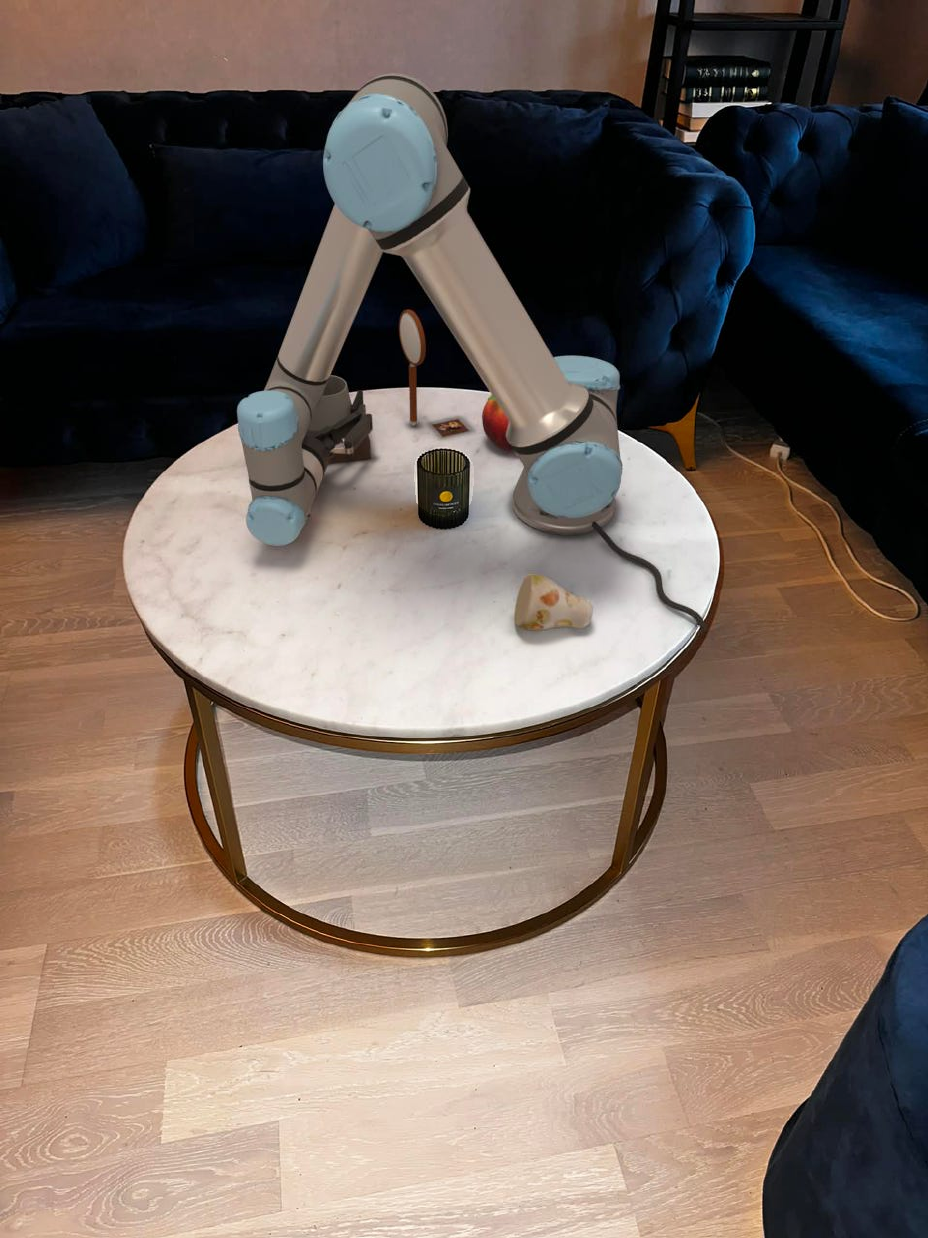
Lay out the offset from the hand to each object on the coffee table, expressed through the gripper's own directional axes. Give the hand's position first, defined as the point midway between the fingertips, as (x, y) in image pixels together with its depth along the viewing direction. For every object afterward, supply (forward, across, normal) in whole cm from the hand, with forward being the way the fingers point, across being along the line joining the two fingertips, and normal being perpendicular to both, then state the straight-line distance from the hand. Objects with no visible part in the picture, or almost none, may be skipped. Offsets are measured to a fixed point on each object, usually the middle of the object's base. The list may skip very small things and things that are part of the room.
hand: (330, 395), depth 154 cm
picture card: (+4, +19, -7) cm, 21 cm away
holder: (-4, 0, -6) cm, 8 cm away
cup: (-4, 0, -6) cm, 8 cm away
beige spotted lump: (-45, +38, -6) cm, 59 cm away
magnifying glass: (+4, +13, -7) cm, 15 cm away
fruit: (0, +30, -6) cm, 31 cm away
